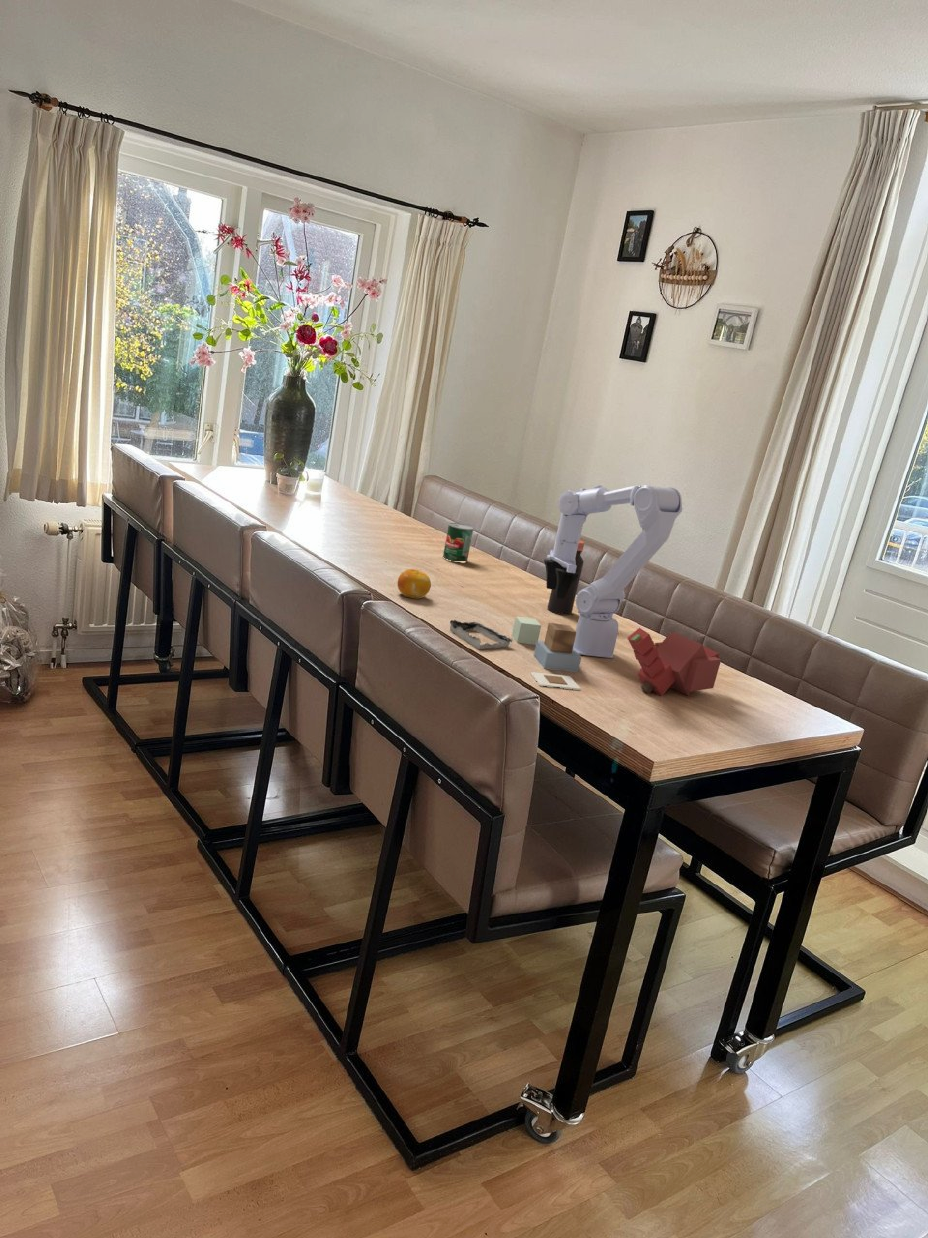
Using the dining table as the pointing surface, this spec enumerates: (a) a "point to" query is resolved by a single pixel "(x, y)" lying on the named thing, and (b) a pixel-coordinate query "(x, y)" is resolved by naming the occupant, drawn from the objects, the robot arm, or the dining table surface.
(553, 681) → the card
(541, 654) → the slate base block
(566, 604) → the bottle
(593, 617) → the robot arm
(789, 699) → the dining table surface
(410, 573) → the fruit
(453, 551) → the canned tomato
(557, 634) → the walnut block
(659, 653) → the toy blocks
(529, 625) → the sage block
